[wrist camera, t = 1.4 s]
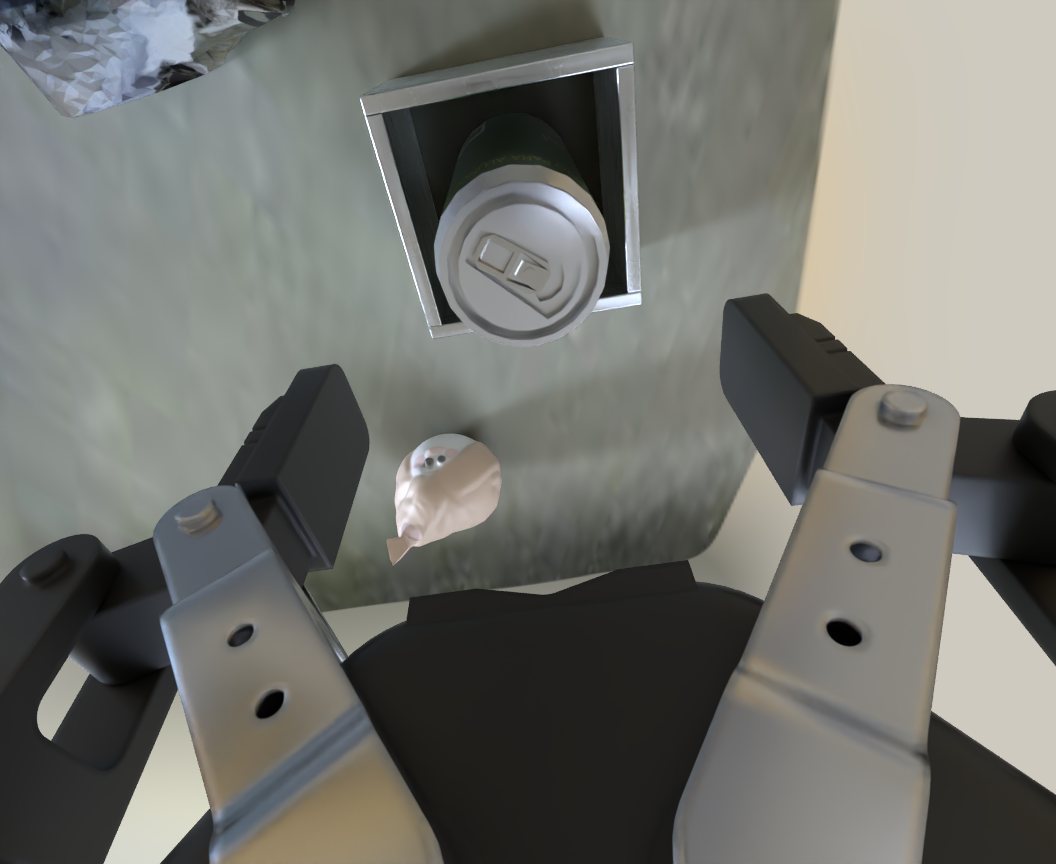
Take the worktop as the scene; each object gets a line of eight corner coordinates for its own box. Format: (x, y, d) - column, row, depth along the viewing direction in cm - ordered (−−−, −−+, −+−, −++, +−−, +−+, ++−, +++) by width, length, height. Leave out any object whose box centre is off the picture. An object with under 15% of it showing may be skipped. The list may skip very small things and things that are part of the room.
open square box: (387, 80, 23) (358, 96, 18) (604, 36, 22) (633, 41, 17) (443, 285, 28) (432, 339, 24) (617, 255, 28) (642, 304, 23)
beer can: (438, 201, 26) (402, 308, 16) (487, 83, 23) (480, 130, 13) (536, 253, 27) (555, 378, 18) (593, 150, 25) (653, 233, 15)
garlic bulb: (405, 408, 33) (383, 501, 27) (508, 422, 34) (510, 514, 28) (399, 486, 37) (379, 583, 30) (492, 496, 38) (490, 592, 31)
